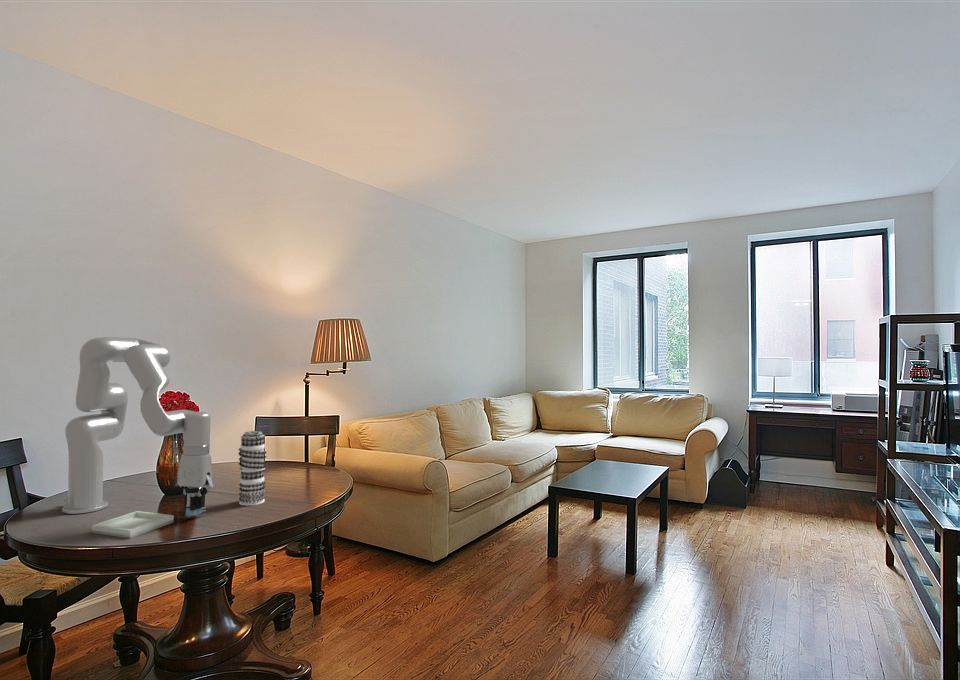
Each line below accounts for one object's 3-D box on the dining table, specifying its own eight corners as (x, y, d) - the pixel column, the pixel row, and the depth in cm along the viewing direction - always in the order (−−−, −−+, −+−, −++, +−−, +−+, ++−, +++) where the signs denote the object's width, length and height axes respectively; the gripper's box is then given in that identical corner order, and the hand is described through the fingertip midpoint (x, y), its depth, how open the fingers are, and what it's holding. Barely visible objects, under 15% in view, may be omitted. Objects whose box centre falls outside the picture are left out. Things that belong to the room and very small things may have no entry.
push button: (202, 510, 179) (202, 480, 179) (209, 513, 176) (210, 482, 176) (180, 514, 174) (181, 483, 174) (187, 518, 171) (188, 486, 171)
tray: (91, 532, 161) (91, 525, 161) (136, 517, 175) (137, 510, 175) (130, 538, 156) (130, 530, 156) (173, 522, 171) (173, 515, 171)
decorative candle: (233, 502, 193) (234, 431, 194) (259, 497, 200) (260, 429, 200) (243, 507, 187) (244, 434, 187) (270, 502, 193) (271, 432, 194)
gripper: (166, 450, 174) (164, 507, 174) (208, 454, 169) (206, 513, 169) (185, 446, 181) (183, 501, 181) (226, 450, 176) (224, 506, 176)
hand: (194, 506), depth 175 cm, fingers closed on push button, 3 cm apart
